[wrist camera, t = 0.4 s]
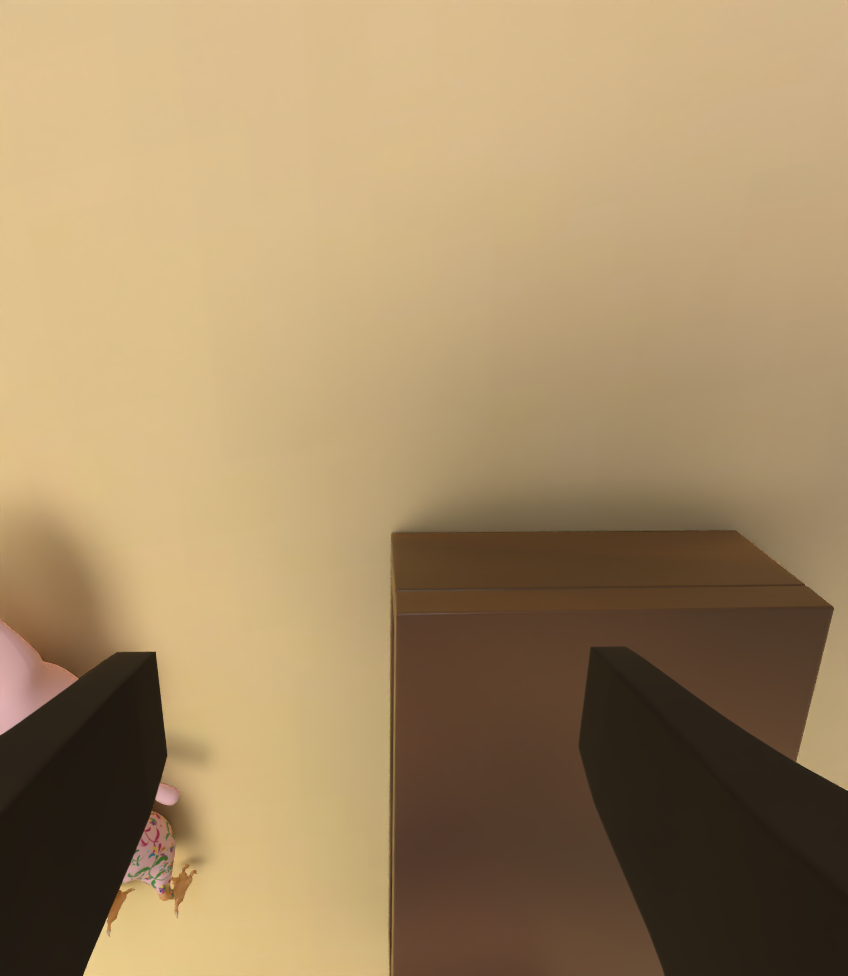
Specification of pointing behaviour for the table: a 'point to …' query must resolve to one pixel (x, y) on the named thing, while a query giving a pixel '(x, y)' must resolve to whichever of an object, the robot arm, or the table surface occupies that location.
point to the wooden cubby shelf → (557, 727)
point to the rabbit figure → (29, 685)
